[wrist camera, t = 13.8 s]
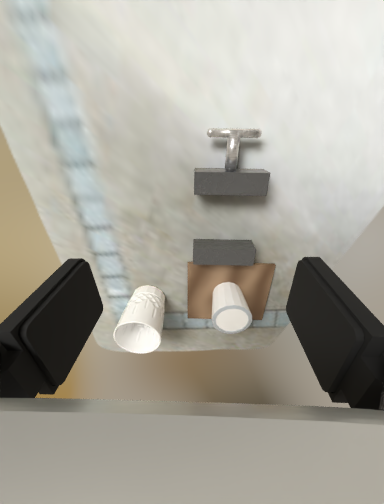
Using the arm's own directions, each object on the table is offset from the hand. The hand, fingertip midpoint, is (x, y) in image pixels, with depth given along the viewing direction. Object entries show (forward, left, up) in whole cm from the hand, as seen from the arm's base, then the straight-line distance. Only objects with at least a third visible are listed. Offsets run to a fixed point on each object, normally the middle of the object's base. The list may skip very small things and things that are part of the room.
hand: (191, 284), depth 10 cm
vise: (-5, +3, -25) cm, 26 cm away
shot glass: (-7, +21, -25) cm, 33 cm away
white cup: (+9, +24, -25) cm, 36 cm away
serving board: (-7, +22, -25) cm, 34 cm away
